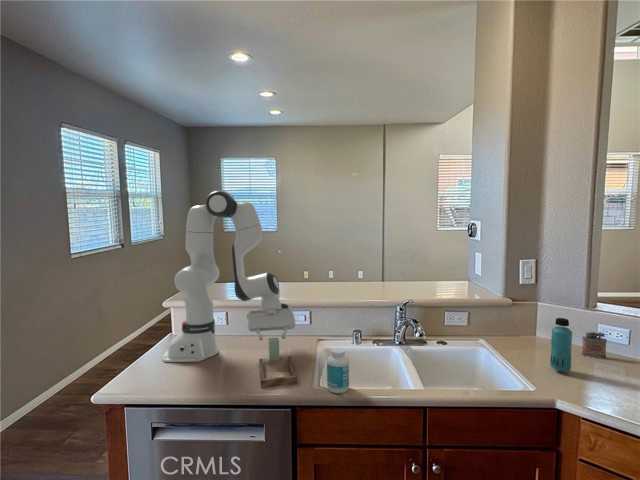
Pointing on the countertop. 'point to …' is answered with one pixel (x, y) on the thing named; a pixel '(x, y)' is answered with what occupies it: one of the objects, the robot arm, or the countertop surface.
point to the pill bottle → (337, 371)
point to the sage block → (273, 349)
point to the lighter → (594, 345)
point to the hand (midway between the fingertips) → (272, 339)
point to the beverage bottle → (561, 346)
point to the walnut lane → (278, 380)
